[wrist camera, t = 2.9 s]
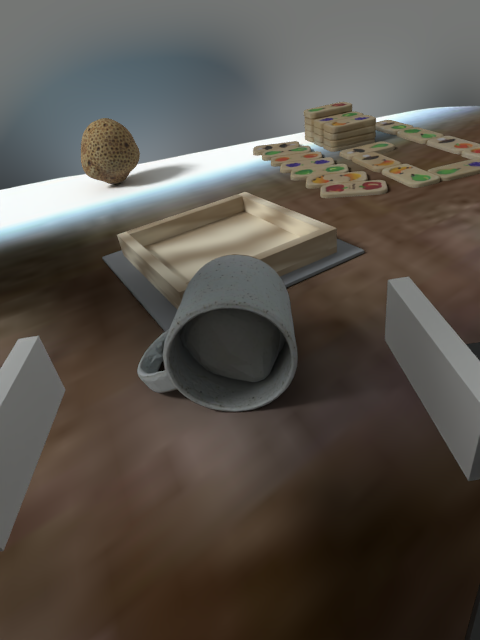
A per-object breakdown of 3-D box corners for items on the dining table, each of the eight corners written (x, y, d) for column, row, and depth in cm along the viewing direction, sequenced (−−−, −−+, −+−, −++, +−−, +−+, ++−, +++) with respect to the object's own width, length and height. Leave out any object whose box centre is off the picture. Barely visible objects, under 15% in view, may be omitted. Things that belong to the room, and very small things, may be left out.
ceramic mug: (292, 328, 33) (282, 233, 28) (303, 408, 26) (291, 299, 22) (155, 343, 34) (126, 254, 30) (132, 424, 27) (89, 323, 23)
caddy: (123, 255, 47) (117, 234, 46) (247, 211, 53) (245, 192, 52) (185, 317, 35) (179, 292, 34) (336, 252, 41) (336, 228, 40)
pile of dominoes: (247, 154, 79) (243, 121, 76) (382, 125, 83) (383, 93, 80) (334, 214, 51) (333, 166, 48) (530, 166, 55) (541, 119, 52)
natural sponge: (158, 175, 73) (142, 111, 68) (123, 194, 67) (102, 124, 62) (118, 174, 77) (100, 113, 72) (81, 191, 71) (59, 126, 66)
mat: (102, 259, 48) (102, 257, 48) (255, 206, 55) (254, 203, 55) (171, 339, 34) (170, 335, 33) (364, 252, 41) (364, 250, 41)
